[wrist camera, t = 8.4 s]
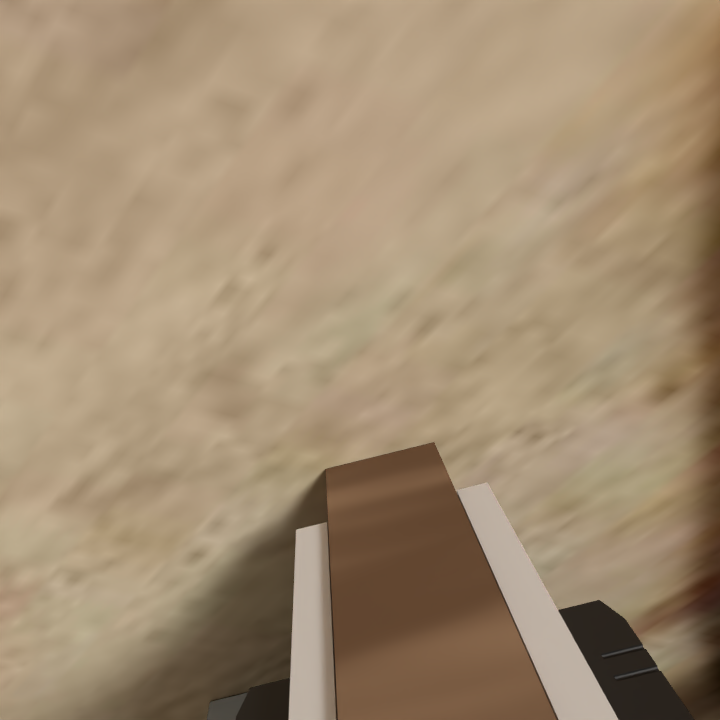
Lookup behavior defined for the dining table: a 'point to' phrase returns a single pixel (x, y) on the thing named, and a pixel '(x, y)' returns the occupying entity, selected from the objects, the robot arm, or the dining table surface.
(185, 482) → the dining table surface
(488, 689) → the pusher tool
